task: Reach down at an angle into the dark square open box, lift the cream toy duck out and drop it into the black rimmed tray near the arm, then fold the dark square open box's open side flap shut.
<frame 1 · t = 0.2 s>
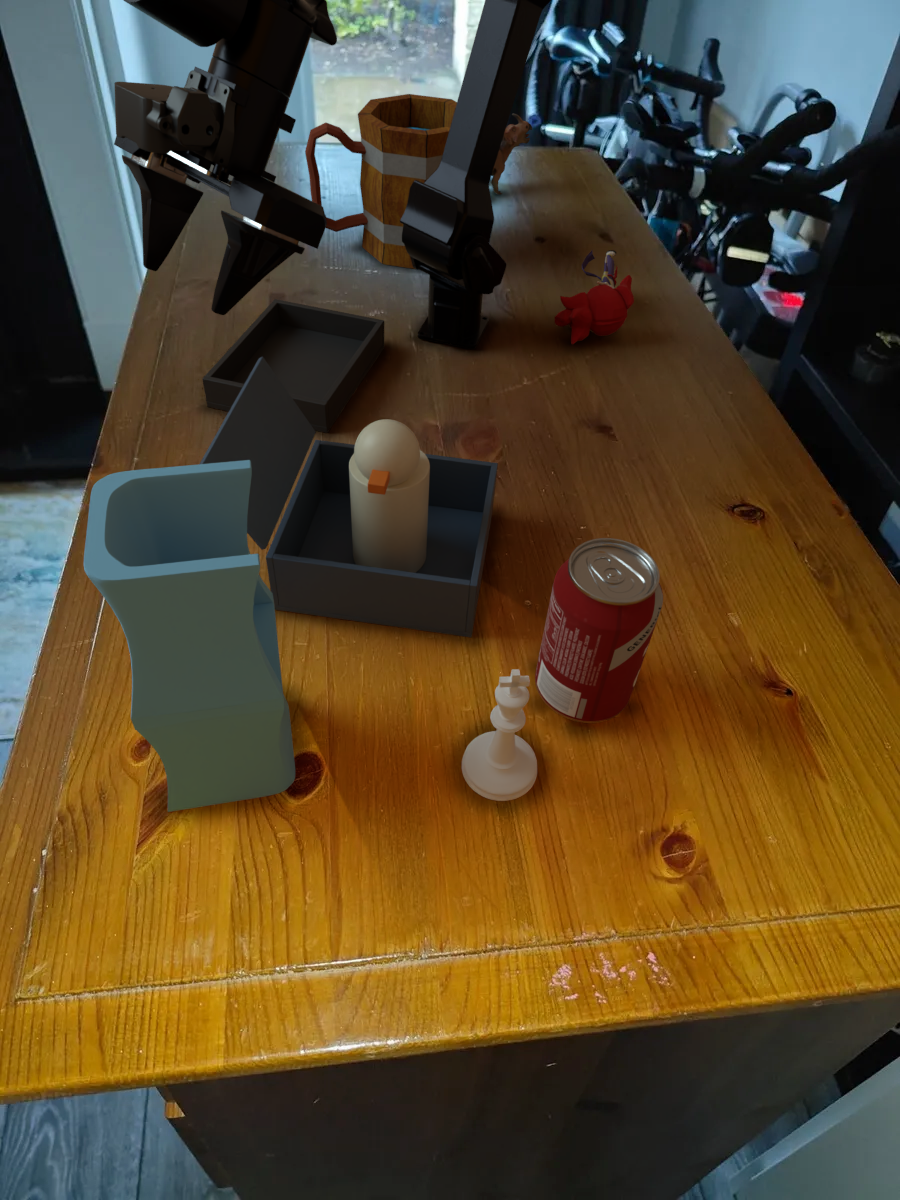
hand: (182, 290, 65), 15 cm above the dresser, tool tilted 35°, fingers open, 9 cm apart
flap: (262, 449, 61), point 9 cm above the dresser, hinge at 120.0°
tray: (300, 375, 85), on the dresser
vase: (231, 750, 55), on the dresser
figurine: (591, 321, 95), on the dresser
chess piece: (499, 769, 55), on the dresser
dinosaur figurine: (480, 192, 119), on the dresser
soda can: (580, 690, 60), on the dresser
dark square open box: (389, 559, 67), on the dresser
mug: (391, 247, 106), on the dresser
duck: (389, 554, 67), resting on dark square open box
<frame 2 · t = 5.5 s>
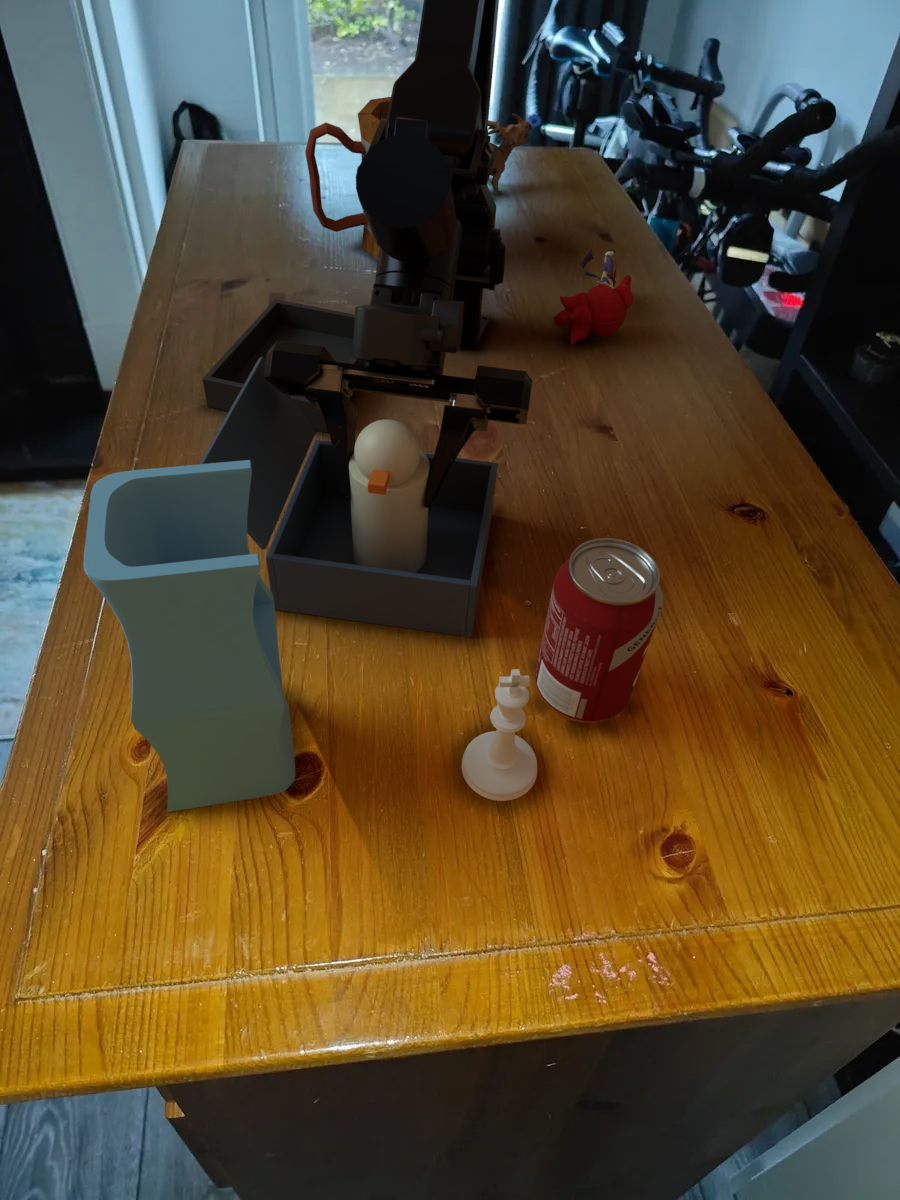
hand: (385, 502, 61), 7 cm above the dresser, tool tilted 45°, fingers closed on duck, 6 cm apart
duck: (389, 554, 67), point 1 cm above the dresser, touching dark square open box, gripper
everything else where it was.
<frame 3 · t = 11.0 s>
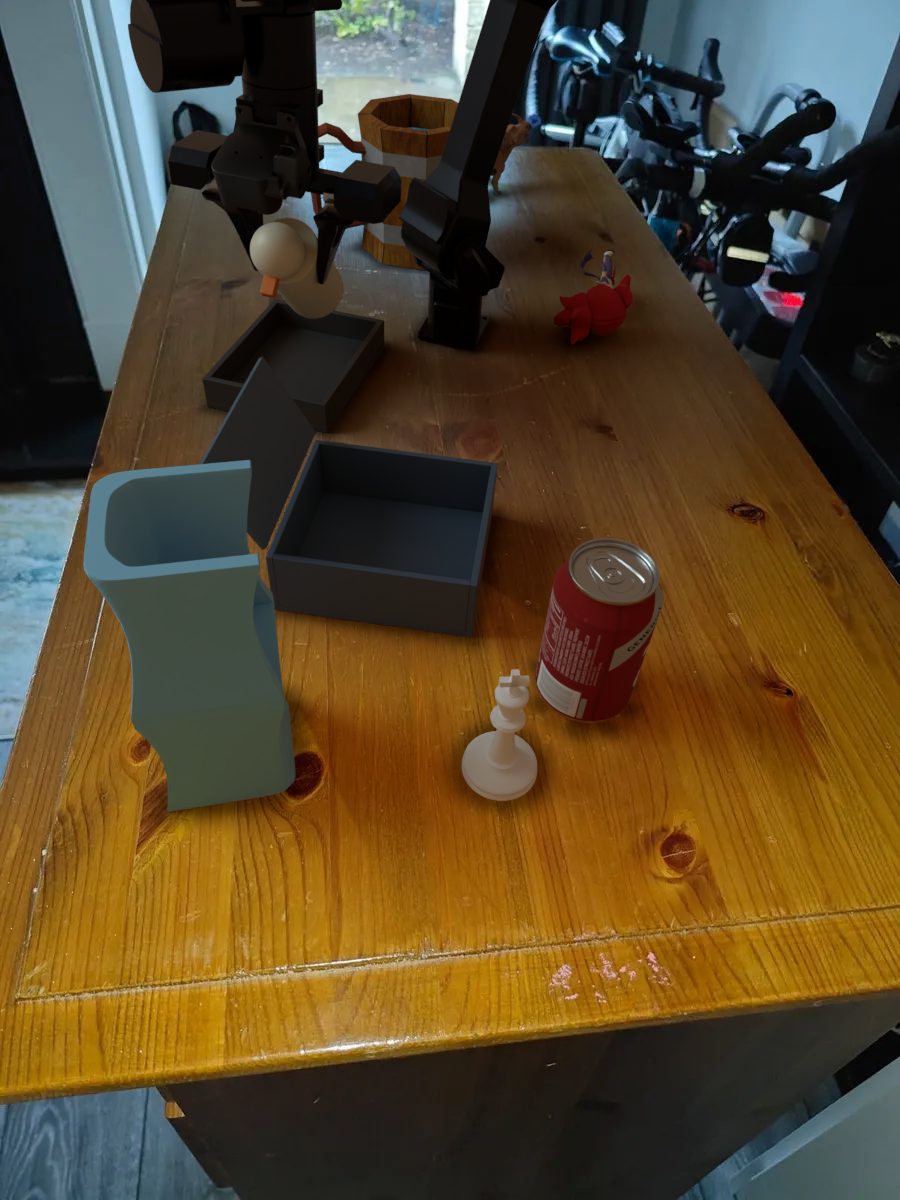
hand: (290, 276, 76), 11 cm above the dresser, tool pointing down, fingers closed on duck, 6 cm apart
duck: (314, 289, 83), point 7 cm above the dresser, tilted 43°, touching gripper
everything else where it was.
when the fingers open (6 cm above the dresser, at t = 13.3 s): duck moves 1 cm and tips over, resting on tray.
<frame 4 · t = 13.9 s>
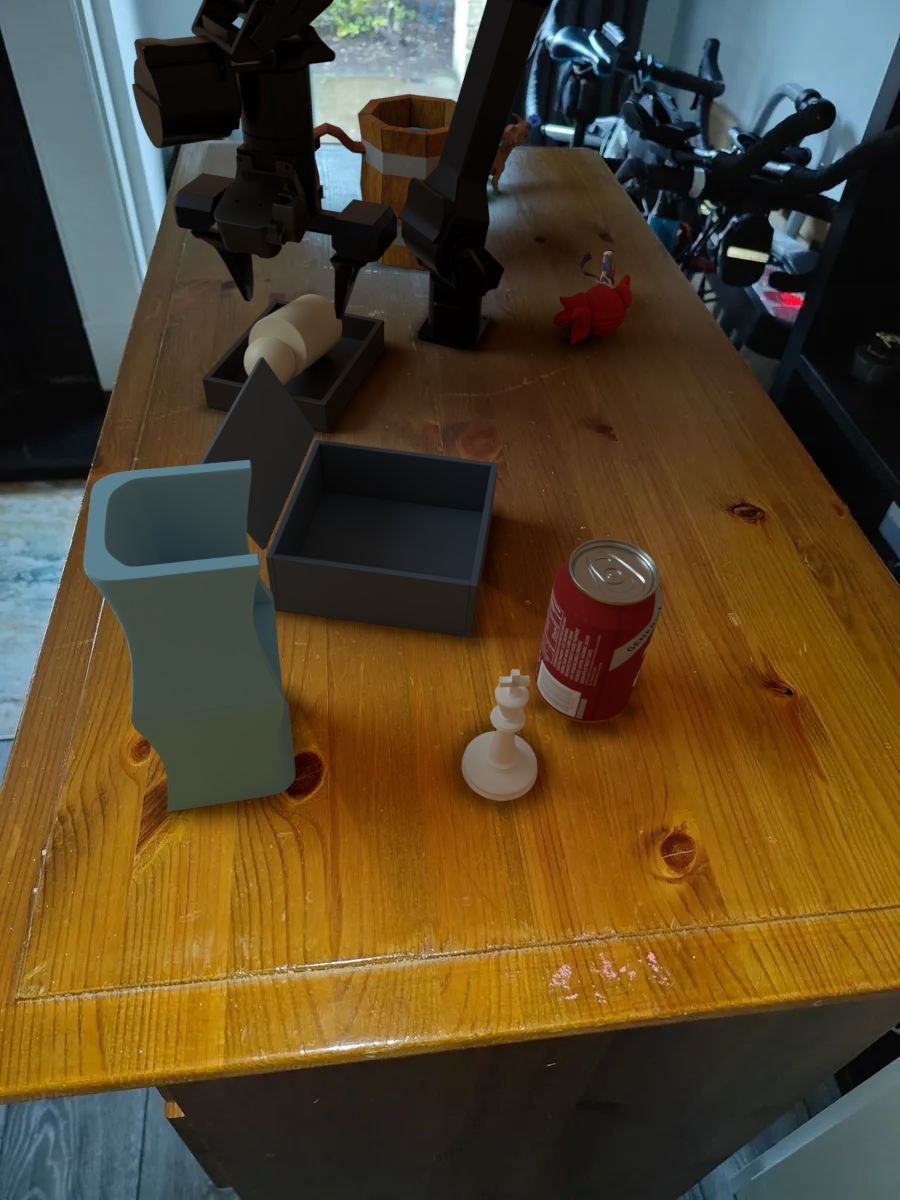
hand: (294, 308, 79), 7 cm above the dresser, tool pointing down, fingers open, 9 cm apart
duck: (315, 323, 85), point 3 cm above the dresser, tilted 77°, touching tray
everything else where it was.
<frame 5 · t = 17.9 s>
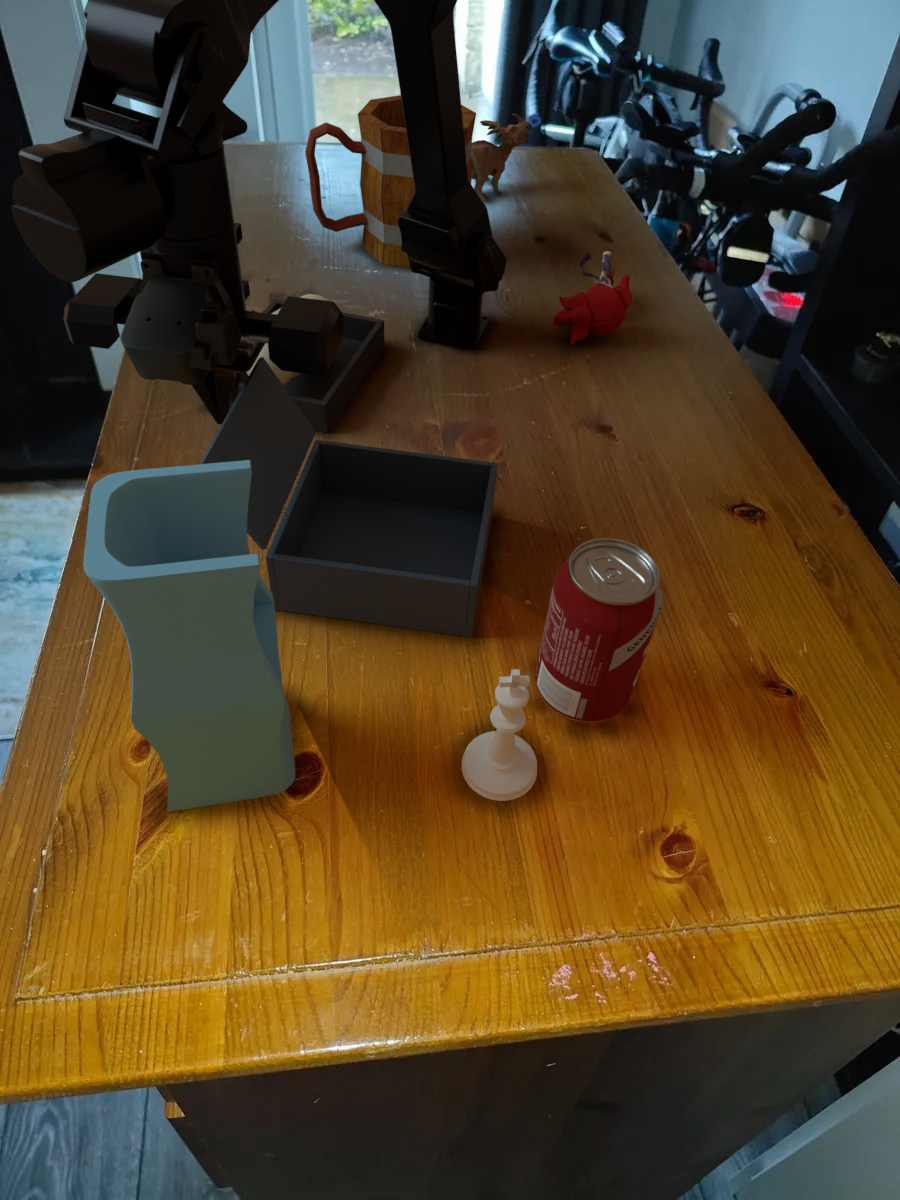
hand: (224, 422, 66), 7 cm above the dresser, tool pointing down, fingers closed
flap: (262, 449, 61), point 9 cm above the dresser, hinge at 120.1°, touching gripper
everything else where it was.
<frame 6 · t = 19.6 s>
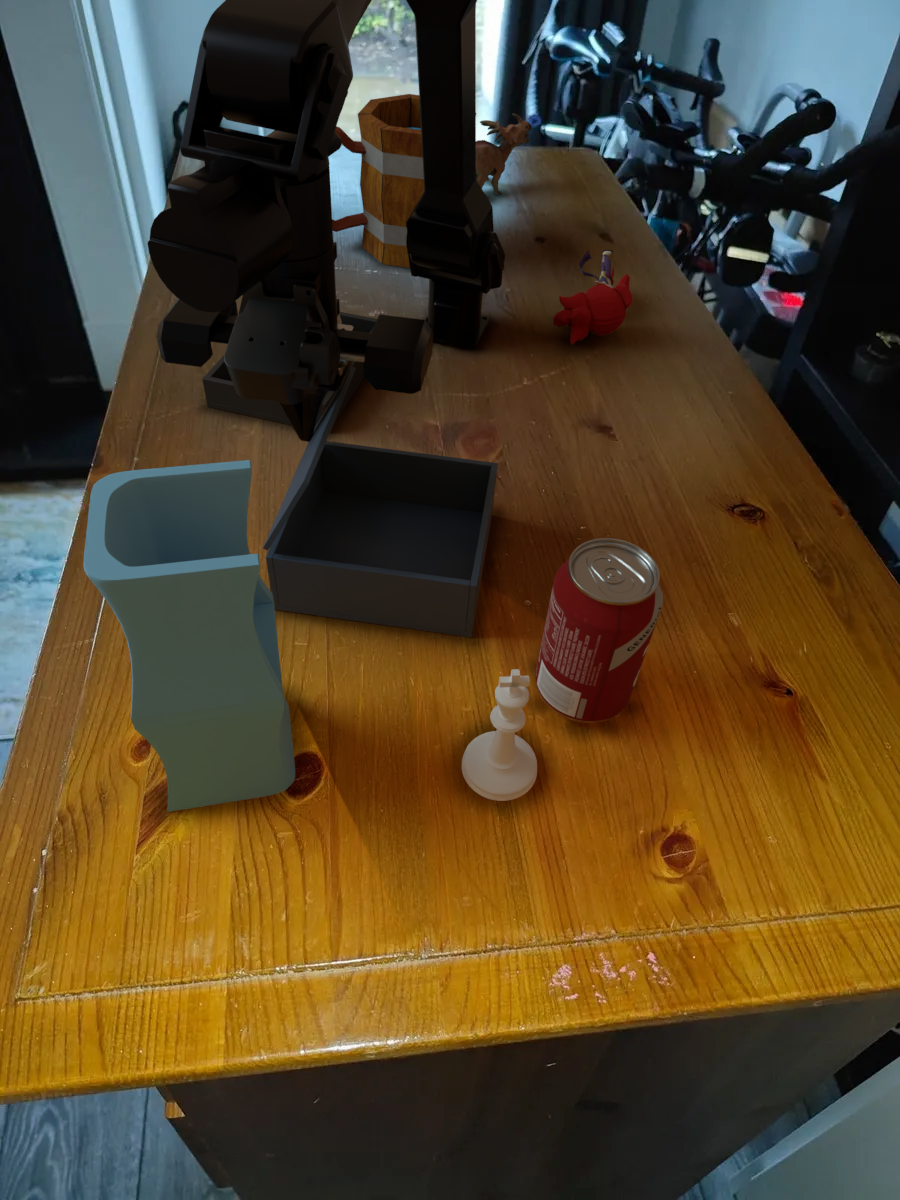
hand: (306, 438, 66), 7 cm above the dresser, tool pointing down, fingers closed
flap: (311, 454, 61), point 9 cm above the dresser, hinge at 62.2°, touching gripper
everything else where it was.
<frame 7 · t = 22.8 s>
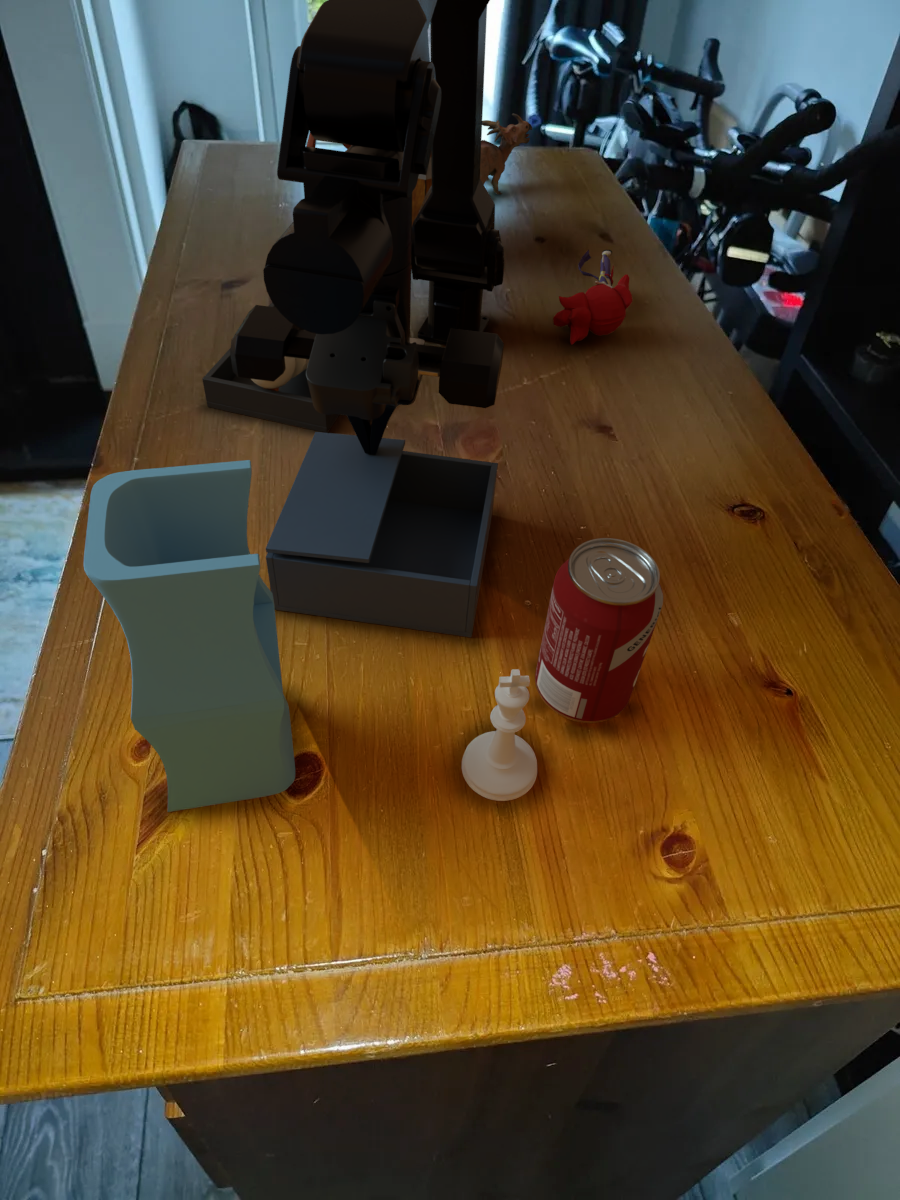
hand: (371, 451, 66), 7 cm above the dresser, tool pointing down, fingers closed, pressing on flap
flap: (340, 492, 63), point 6 cm above the dresser, hinge at 2.5°, touching gripper
everything else where it was.
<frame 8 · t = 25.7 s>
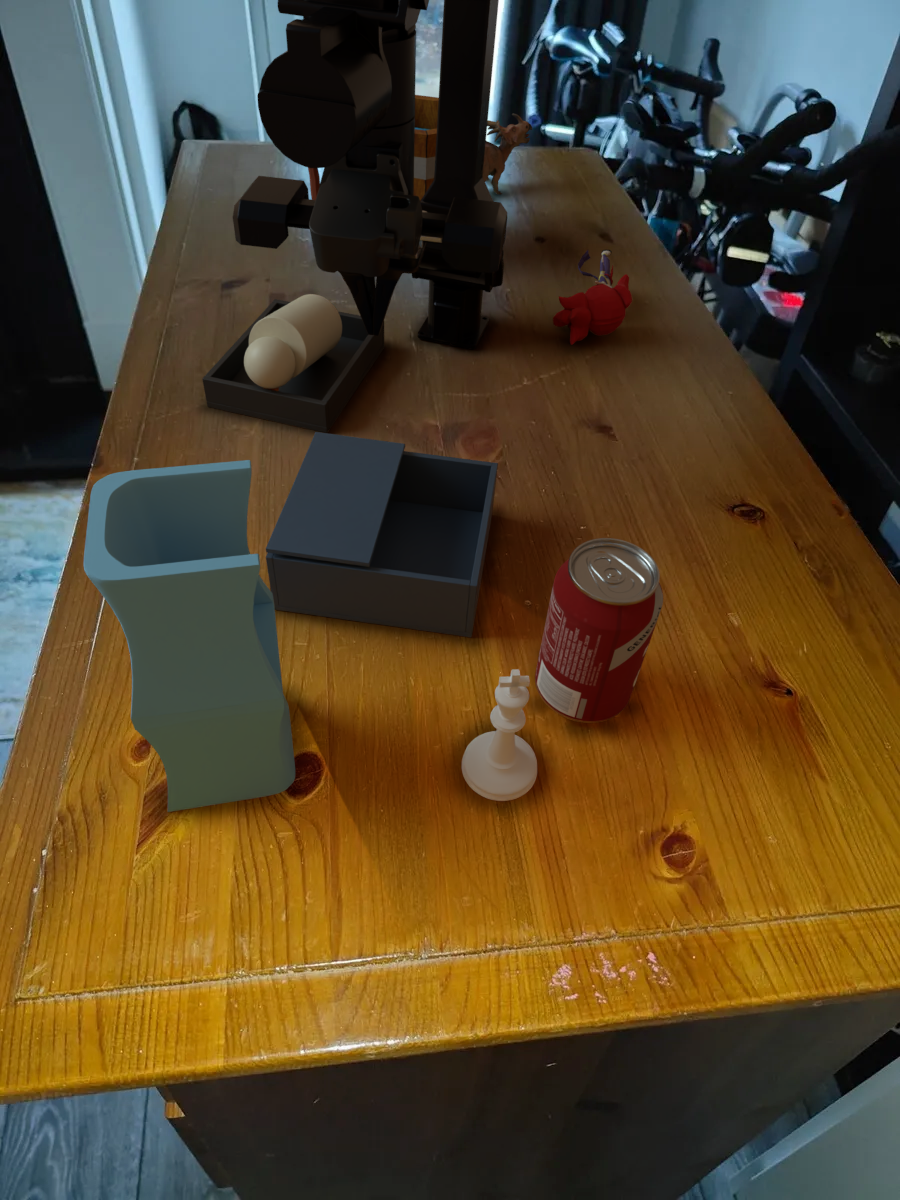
hand: (374, 333, 66), 13 cm above the dresser, tool pointing down, fingers closed
flap: (340, 494, 63), point 6 cm above the dresser, hinge at -0.3°
everything else where it was.
at the end: duck inside the target area in the tray (4.3 cm from its centre), point 3.4 cm above the tray's base; the gripper is holding nothing; flap at +0° (first picture: +120°) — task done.
